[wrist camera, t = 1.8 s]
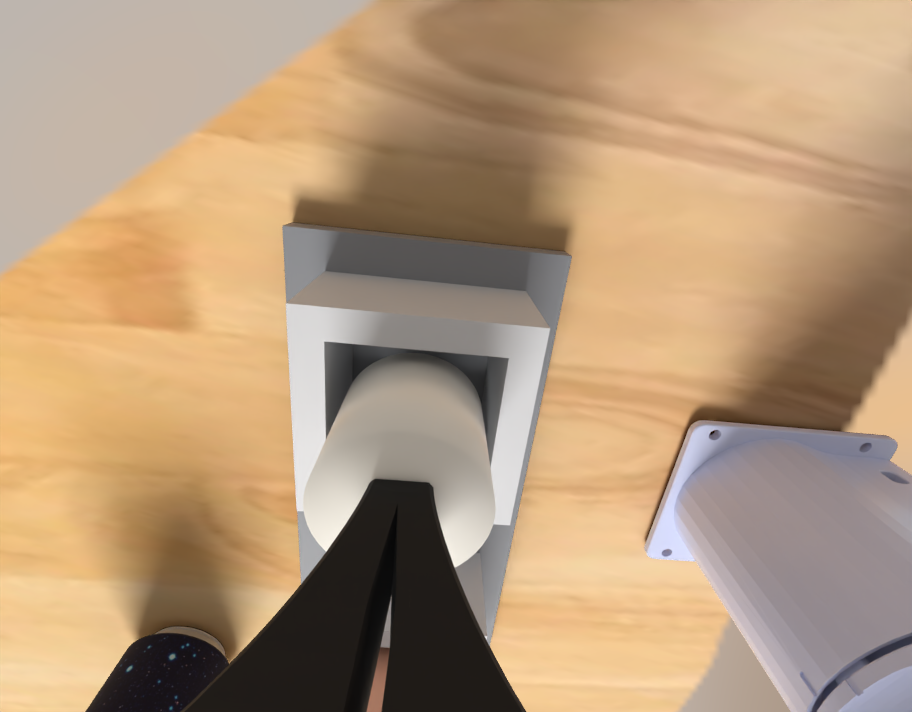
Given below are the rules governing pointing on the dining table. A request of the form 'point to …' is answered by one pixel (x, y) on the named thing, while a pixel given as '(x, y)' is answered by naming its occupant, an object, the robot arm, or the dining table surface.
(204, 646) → the beverage can
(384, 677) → the terracotta plug
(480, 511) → the cream plug
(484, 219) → the dining table surface
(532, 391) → the plug panel
